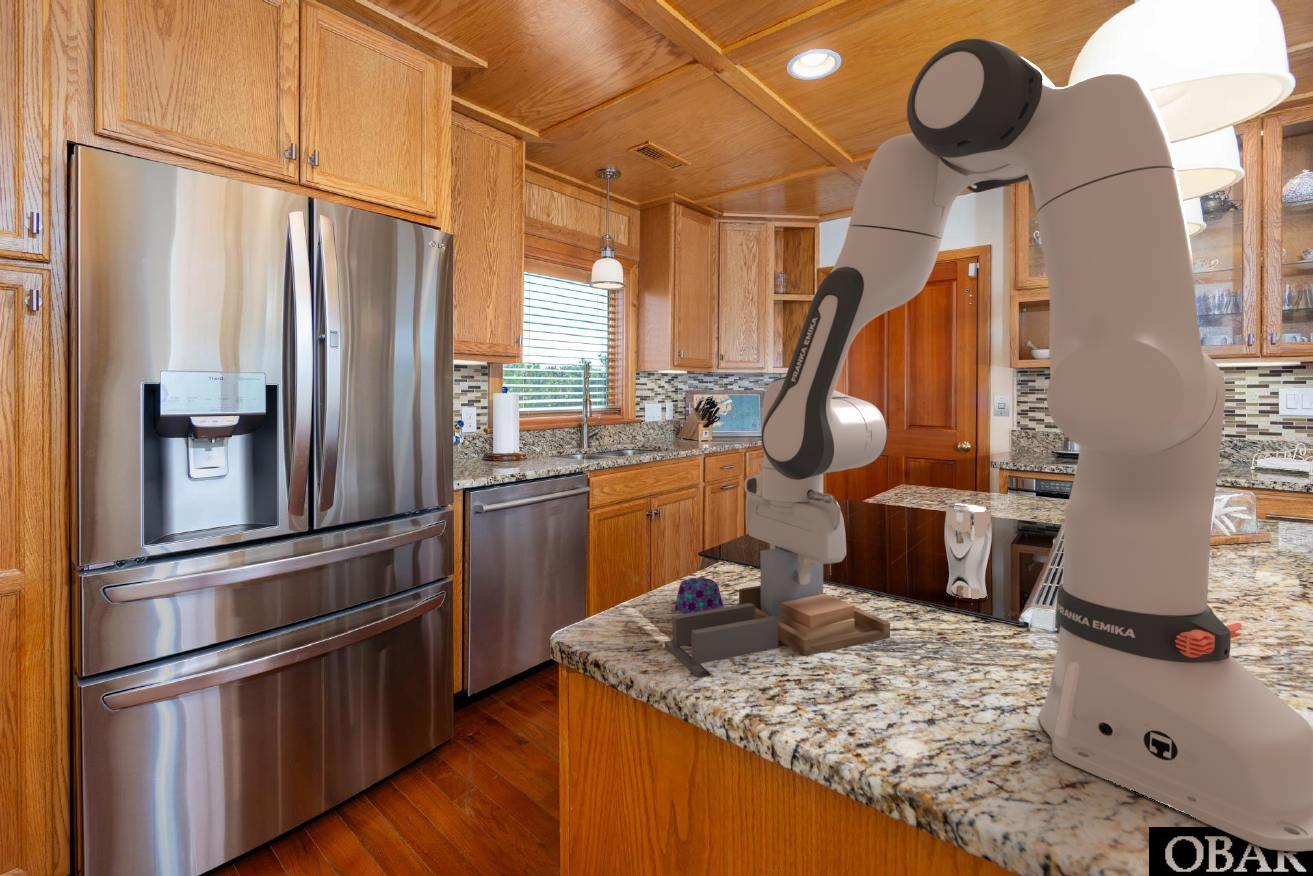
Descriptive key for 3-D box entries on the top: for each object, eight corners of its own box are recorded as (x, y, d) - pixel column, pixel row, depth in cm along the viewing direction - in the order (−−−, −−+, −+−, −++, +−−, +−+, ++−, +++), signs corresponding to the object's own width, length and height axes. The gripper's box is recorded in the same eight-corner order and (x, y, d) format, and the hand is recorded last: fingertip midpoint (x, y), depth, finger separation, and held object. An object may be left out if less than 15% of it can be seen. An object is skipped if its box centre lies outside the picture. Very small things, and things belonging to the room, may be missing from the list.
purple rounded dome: (645, 619, 96) (645, 586, 95) (686, 597, 106) (685, 567, 105) (714, 635, 89) (713, 599, 89) (750, 610, 99) (750, 578, 98)
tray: (889, 644, 84) (890, 608, 84) (804, 663, 79) (804, 624, 78) (815, 608, 99) (815, 577, 98) (739, 621, 93) (739, 588, 93)
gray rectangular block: (822, 614, 93) (823, 548, 92) (771, 623, 90) (772, 555, 89) (810, 608, 96) (810, 544, 95) (760, 616, 92) (760, 550, 92)
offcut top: (854, 618, 86) (854, 605, 86) (810, 629, 83) (810, 615, 82) (823, 605, 92) (823, 593, 92) (780, 615, 88) (780, 602, 88)
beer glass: (1000, 600, 101) (1002, 509, 100) (968, 605, 99) (970, 512, 98) (964, 587, 108) (966, 502, 107) (934, 593, 105) (935, 505, 104)
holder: (788, 658, 80) (788, 622, 80) (698, 678, 75) (697, 639, 75) (747, 631, 89) (747, 599, 89) (664, 647, 84) (664, 612, 84)
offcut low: (854, 632, 86) (854, 619, 86) (806, 641, 83) (806, 628, 83) (826, 618, 92) (826, 606, 91) (780, 626, 88) (780, 614, 88)
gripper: (858, 494, 83) (857, 596, 84) (771, 476, 102) (771, 560, 103) (819, 498, 81) (819, 602, 82) (738, 479, 99) (738, 564, 100)
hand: (792, 578), depth 92 cm, fingers open, 3 cm apart
